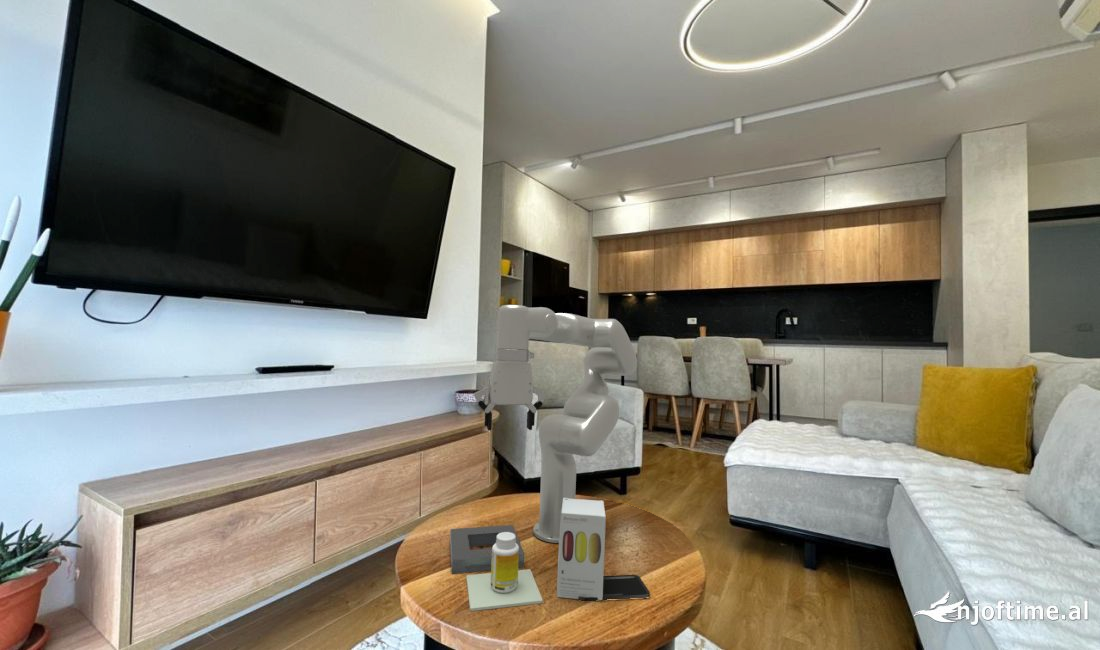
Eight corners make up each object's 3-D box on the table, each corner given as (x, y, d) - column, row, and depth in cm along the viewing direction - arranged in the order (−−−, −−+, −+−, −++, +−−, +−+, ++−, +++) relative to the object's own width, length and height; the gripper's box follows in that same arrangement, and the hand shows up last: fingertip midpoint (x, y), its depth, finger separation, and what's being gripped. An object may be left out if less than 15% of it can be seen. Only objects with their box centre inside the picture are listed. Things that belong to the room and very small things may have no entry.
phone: (571, 577, 93) (638, 574, 95) (571, 582, 93) (638, 579, 95) (579, 598, 85) (651, 595, 87) (578, 604, 85) (651, 600, 87)
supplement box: (556, 598, 86) (559, 512, 87) (558, 574, 95) (561, 496, 96) (604, 602, 86) (606, 515, 86) (601, 577, 95) (604, 499, 96)
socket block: (512, 536, 113) (512, 524, 113) (524, 567, 98) (524, 553, 98) (449, 541, 109) (450, 529, 109) (451, 574, 94) (452, 559, 94)
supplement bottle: (522, 588, 88) (524, 537, 89) (499, 597, 85) (502, 544, 85) (507, 576, 93) (509, 527, 93) (485, 584, 89) (487, 534, 90)
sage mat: (530, 571, 96) (530, 569, 96) (542, 603, 84) (542, 600, 84) (466, 577, 93) (466, 575, 93) (470, 611, 81) (470, 608, 81)
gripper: (543, 357, 109) (541, 425, 108) (474, 355, 104) (471, 426, 104) (551, 358, 101) (548, 431, 101) (477, 356, 97) (473, 432, 96)
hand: (509, 429), depth 102 cm, fingers open, 9 cm apart
